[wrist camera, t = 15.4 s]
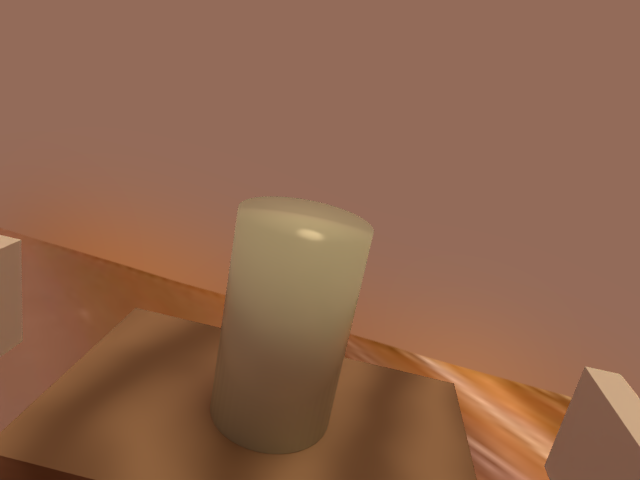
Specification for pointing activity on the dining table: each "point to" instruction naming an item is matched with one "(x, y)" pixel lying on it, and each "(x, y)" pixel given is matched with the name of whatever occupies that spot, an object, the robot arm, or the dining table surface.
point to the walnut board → (199, 429)
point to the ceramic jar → (286, 321)
